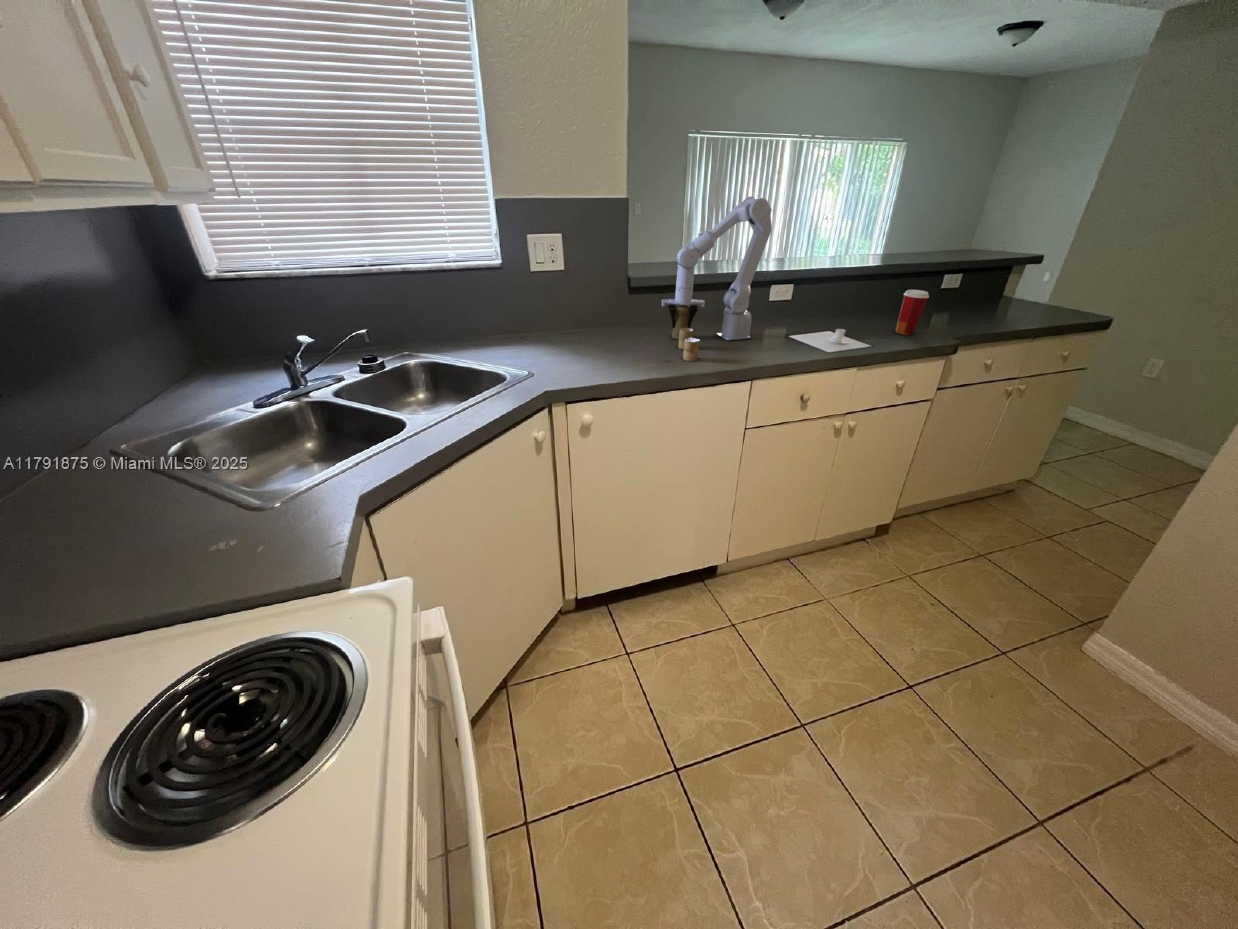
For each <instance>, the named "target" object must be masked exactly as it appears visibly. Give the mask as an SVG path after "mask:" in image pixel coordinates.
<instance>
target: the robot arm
mask: <svg viewBox="0 0 1238 929" xmlns="http://www.w3.org/2000/svg"><path fill="white" fill-rule="evenodd" d="M772 209H773V208H772V207H771V206H770V204H769V201H768V200H767V199H766V198H764V197H755V196H748V197H746V198H745V199H743V201H742V202H739V203H738V204H737V205H736V206H735V207H733V209H731V211H730V212H729V213H727V214H726V215H725V216H724V217H723V218H722V219H721V220H720V221H719V222H718V223H717V224H715V225H714V227H713V228H712V229H711V230H704V231H699V232H698V233H697V235H698V236H696V238H694V239H693V240H692V241H691V242H688V243H687V244H686V247H682V248H680V249H679V251H678V253H677V255H676V257H675V258H676V262H677V272H676V280H675V282H676V283H675V294H674V295H675V296H674V298H666V299H663V298H662V299H661V307H667V309H668V312H669V315H670V320H671V328H672V329H673V328H675V318H676V306H680V305H685V306H689V308H690V313H689V314H688V328H691V326H692V322H693V319H694V318H695V316H696V314H697V313H698V310H699V307H700V308H705V302H706V301H705V300H704V299H693V292H694V282H695V267H696V266H697V265H698V262H699V260H701V258H702V257H703V256H705V255H706V254H707V253H708V252H709V251H711V250H712V249H713V248H714V247H716V245H717V240H718V239H719V238H720V237H721V236H723V235H724V234H726V232H728V231H729V230H730V229H731V228H732V227H735V225H737V224H739V223H744V222H748V223H749V225H750V227H751V229H752V235H751V238H750V240H749V242H748V246H747V248H746V251H745V253H744V256H743V259H742V261H741V265H740V267H739V270H738V272H737V275H736V278H735V280H734V281H733V282H732V283H731V285H730V287H729V289H728V291H726V292H725V294H724V296H723V304H724V305H725V308H724V309H723V310H724V311H723V318H722V325H721V332H716V333H715V334H716V336H718V337H720V338H721V339H724V340H726V341H735V340H746V339H747V340H748V339H750V338H751V336H750V332H751V327H752V326H751V325H752V314H751V312H750V311H748V308H749V305H750V296H751V285H752V282H753V279H754V277H755V275H756V272H757V269H758V266H759V264H760V261H761V259H762V256H763V254H764V251H765V248H766V245H767V243H768V241H769V239H770V236H771V233H772V229H773V228H772V219H771V218H772V216H771V215H772Z"/></svg>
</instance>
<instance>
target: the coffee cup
mask: <svg viewBox="0 0 1238 929" xmlns="http://www.w3.org/2000/svg"><path fill="white" fill-rule="evenodd" d="M929 298H930V294H929V292H928V291H926V290H921V289H907V290H905V292H904V293H903V299H902V303H901V307H900V311H899V316H898V320H897V324H896V328H895V333H896V334H899V335H905V336H913V334H914V333H915V331H916V328H917V326H918V323H919V321H920V318H921V316H922V313H923V310H924V308H925V305H926V303H927V300H928V299H929Z"/></svg>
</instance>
